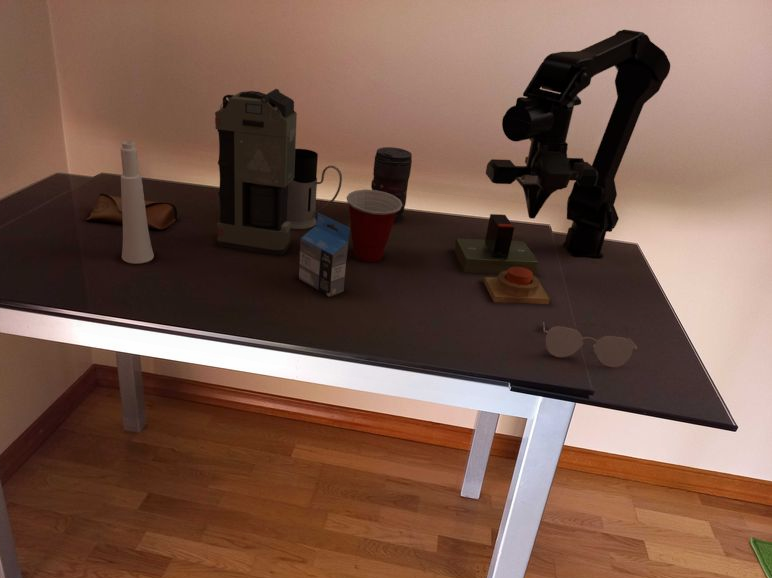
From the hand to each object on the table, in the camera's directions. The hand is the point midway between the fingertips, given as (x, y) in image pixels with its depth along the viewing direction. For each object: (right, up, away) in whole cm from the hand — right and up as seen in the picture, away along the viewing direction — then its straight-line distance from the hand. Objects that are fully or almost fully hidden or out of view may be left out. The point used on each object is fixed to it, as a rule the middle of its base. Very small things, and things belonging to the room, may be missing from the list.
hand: (531, 217), depth 129 cm
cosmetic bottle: (-74, -7, +4) cm, 75 cm away
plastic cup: (-29, -6, +10) cm, 32 cm away
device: (-52, -4, +12) cm, 54 cm away
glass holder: (-42, +3, +23) cm, 48 cm away
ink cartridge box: (-39, -13, -2) cm, 41 cm away
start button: (-3, -12, -2) cm, 13 cm away
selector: (-4, -5, +8) cm, 10 cm away
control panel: (-4, -7, +10) cm, 13 cm away
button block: (-3, -14, -1) cm, 15 cm away
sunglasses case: (-80, +3, +20) cm, 82 cm away
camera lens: (-24, +5, +29) cm, 38 cm away
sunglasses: (+3, -25, -17) cm, 30 cm away
